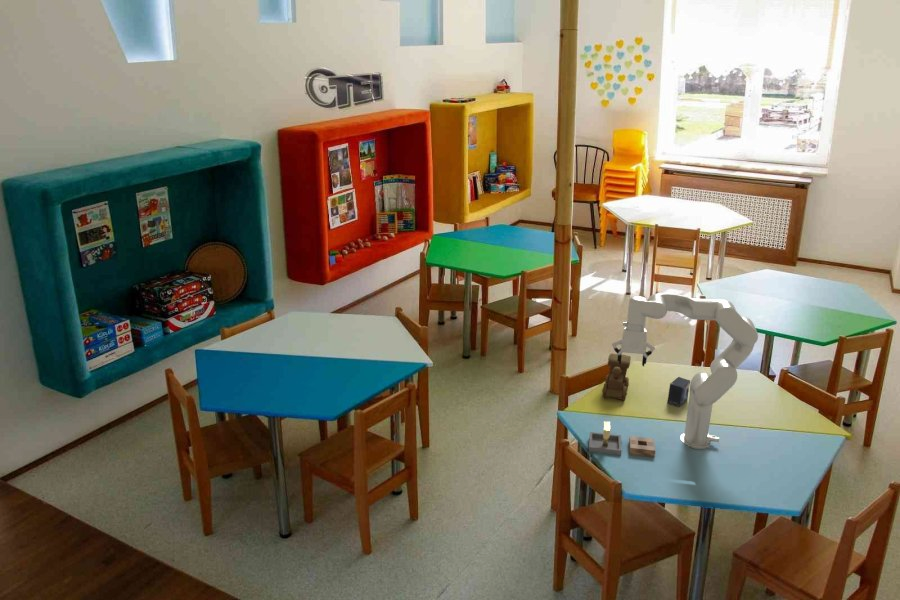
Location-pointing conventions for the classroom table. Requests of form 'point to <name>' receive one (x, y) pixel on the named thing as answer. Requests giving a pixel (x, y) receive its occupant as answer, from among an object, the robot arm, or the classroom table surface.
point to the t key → (606, 433)
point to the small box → (678, 391)
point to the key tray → (597, 446)
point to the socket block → (641, 446)
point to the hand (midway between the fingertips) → (631, 363)
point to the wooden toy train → (617, 377)
